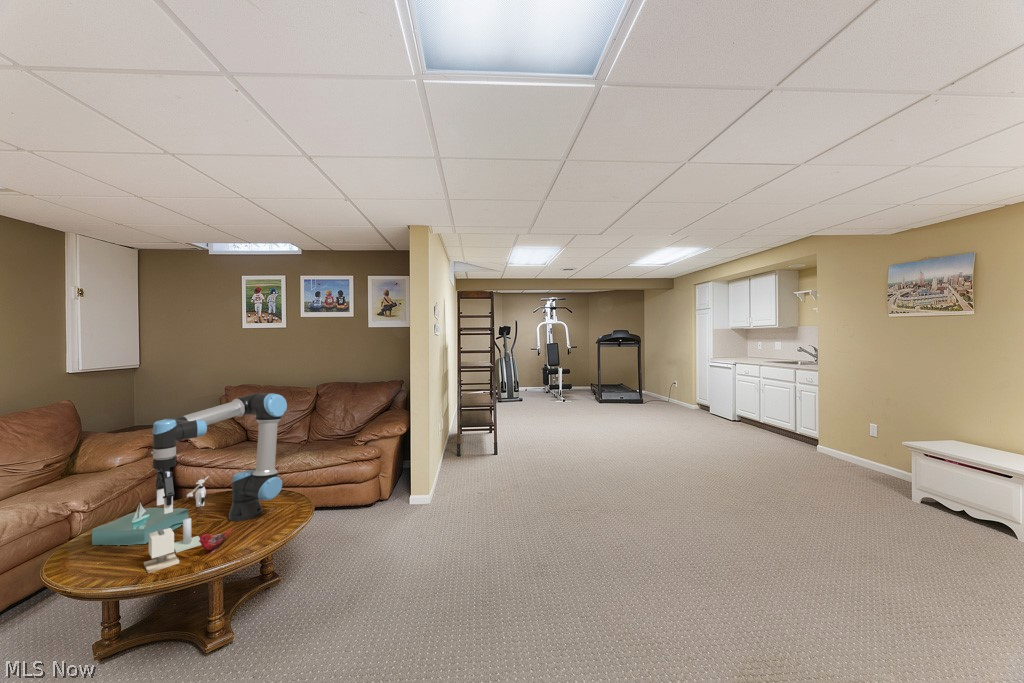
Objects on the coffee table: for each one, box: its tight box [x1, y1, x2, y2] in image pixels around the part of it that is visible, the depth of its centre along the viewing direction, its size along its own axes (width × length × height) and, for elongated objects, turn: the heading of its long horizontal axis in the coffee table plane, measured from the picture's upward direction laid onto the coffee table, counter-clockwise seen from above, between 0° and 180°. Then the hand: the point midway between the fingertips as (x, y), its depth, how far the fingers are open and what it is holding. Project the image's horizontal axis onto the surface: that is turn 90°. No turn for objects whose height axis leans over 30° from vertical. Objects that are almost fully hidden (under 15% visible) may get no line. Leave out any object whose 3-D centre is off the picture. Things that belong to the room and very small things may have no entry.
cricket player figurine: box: [186, 475, 210, 508], centre depth 239 cm, size 13×10×15 cm
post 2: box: [174, 517, 202, 554], centre depth 193 cm, size 10×10×12 cm
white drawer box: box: [148, 528, 175, 559], centre depth 177 cm, size 7×7×9 cm
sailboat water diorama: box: [91, 502, 189, 546], centre depth 206 cm, size 25×25×16 cm
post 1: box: [143, 552, 180, 574], centre depth 177 cm, size 10×10×12 cm
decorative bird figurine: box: [199, 527, 235, 555], centre depth 188 cm, size 3×18×10 cm, turn 167°
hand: (164, 508), depth 177 cm, fingers open, 13 cm apart
